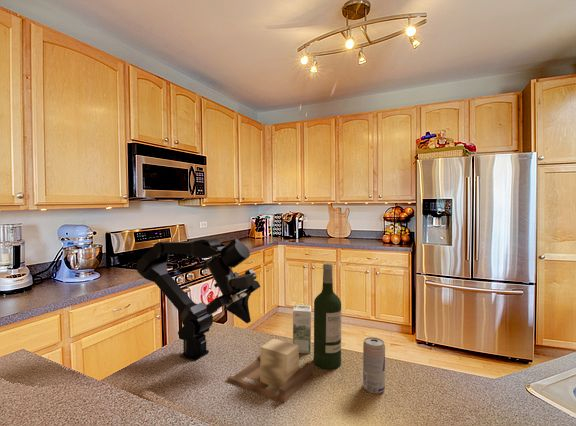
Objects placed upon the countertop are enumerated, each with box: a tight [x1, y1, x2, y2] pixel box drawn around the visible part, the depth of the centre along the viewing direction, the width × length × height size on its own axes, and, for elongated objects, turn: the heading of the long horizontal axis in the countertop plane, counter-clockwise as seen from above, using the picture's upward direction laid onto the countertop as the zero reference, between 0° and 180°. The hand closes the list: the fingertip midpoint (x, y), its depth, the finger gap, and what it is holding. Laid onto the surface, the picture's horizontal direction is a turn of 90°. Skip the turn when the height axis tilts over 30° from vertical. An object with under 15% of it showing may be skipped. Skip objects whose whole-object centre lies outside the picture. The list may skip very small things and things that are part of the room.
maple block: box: [259, 338, 300, 388], centre depth 78 cm, size 8×6×9 cm
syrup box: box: [292, 304, 312, 354], centre depth 96 cm, size 6×6×14 cm
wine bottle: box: [313, 262, 342, 371], centre depth 87 cm, size 8×8×30 cm
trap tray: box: [226, 355, 313, 404], centre depth 79 cm, size 18×14×4 cm
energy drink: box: [362, 336, 386, 394], centre depth 77 cm, size 5×5×12 cm
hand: (249, 322), depth 86 cm, fingers closed
